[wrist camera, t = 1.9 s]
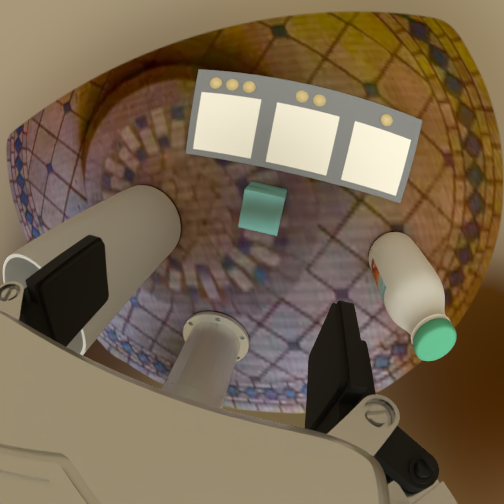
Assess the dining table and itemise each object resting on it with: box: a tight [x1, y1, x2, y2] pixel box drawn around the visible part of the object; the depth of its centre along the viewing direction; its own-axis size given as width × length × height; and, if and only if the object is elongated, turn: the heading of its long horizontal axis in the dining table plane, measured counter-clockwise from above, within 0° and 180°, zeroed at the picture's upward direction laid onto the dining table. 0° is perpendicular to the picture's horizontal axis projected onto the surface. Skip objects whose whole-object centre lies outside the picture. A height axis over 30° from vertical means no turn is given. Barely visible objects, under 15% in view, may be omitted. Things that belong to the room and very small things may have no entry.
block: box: [238, 181, 287, 236], centre depth 38 cm, size 5×5×5 cm
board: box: [186, 69, 422, 203], centre depth 34 cm, size 12×30×2 cm, turn 80°
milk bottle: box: [369, 232, 456, 361], centre depth 31 cm, size 8×8×20 cm
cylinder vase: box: [3, 185, 181, 355], centre depth 33 cm, size 12×12×25 cm
